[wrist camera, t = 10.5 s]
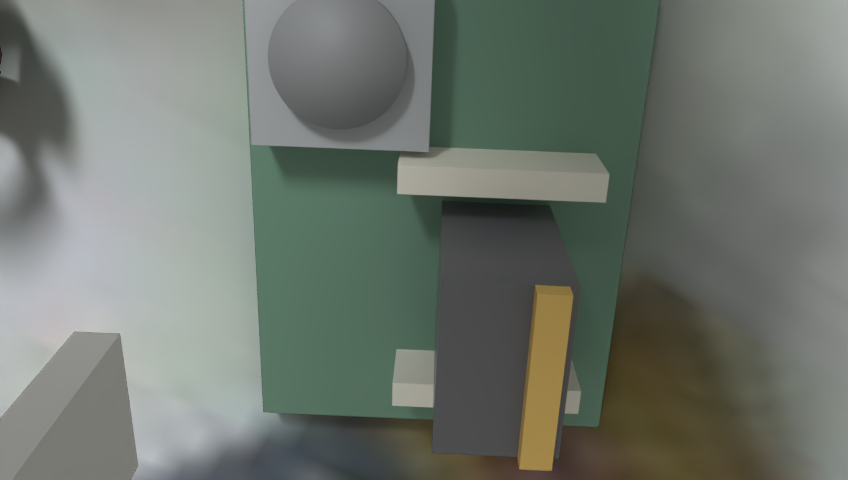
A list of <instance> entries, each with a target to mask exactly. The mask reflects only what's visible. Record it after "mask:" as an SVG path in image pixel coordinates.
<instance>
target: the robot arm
mask: <svg viewBox="0 0 848 480" xmlns="http://www.w3.org/2000/svg"><path fill="white" fill-rule="evenodd" d="M137 467H138V461H137V453H136V446H135V439H134V432H133V424H132V417H131V410H130V402H129V395H128V388H127V380H126V373H125V366H124V358H123V351H122V344H121V337H120V334H119V333H95V332H73V334H72V335H71V336H70V337H69V338H68V339H67V341H66V342H65V343H64V344H63V345H62V347H61V348H60V349H59V350H58V351H57V352H56V354H55V355H54V356H53V357H52V358H51V359H50V361H49V362H48V363H47V364H46V365H45V367H44V368H43V369H42V370H41V371H40V372H39V374H38V375H37V376H36V377H35V378H34V379H33V381H32V382H31V383H30V384H29V385H28V386H27V388H26V389H25V390H24V391H23V392H22V394H21V395H20V396H19V397H18V398H17V399H16V401H15V402H14V403H13V404H12V405H11V406H10V408H9V409H8V410H7V411H6V412H5V413H4V415H3V416H2V417H1V418H0V480H131V478H132V476H133V475H134V473H135V471H136V469H137Z"/></svg>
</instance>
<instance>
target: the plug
mask: <svg viewBox="0 0 848 480" xmlns="http://www.w3.org/2000/svg"><path fill="white" fill-rule="evenodd" d="M580 289H581V287H580V284H579V281H578V279H577V276H576V273H575V271H574V268H573V265H572V263H571V260H570V258H569V255H568V252H567V250H566V247H565V244H564V242H563V239H562V236H561V234H560V231H559V229H558V226H557V223H556V221H555V218H554V215H553V213H552V210H551V207H550V206H545V205H523V204H501V203H479V202H457V201H442V208H441V228H440V248H439V267H438V287H437V307H436V326H435V350H434V392H433V434H432V453H444V454H465V455H486V456H506V457H518V464H519V469H522V470H543V471H552V464H553V459H559V453H560V445H561V438H562V430H563V422H564V414H565V406H566V398H567V391H568V383H569V375H570V367H571V359H572V351H573V344H574V336H575V328H576V320H577V312H578V304H579V297H580Z"/></svg>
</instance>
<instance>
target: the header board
mask: <svg viewBox="0 0 848 480" xmlns="http://www.w3.org/2000/svg"><path fill="white" fill-rule="evenodd" d="M659 2H660V0H243V16H244V36H245V56H246V76H247V96H248V116H249V136H250V156H251V176H252V196H253V216H254V235H255V255H256V275H257V295H258V315H259V335H260V355H261V375H262V395H263V412H270V413H292V414H315V415H337V416H360V417H383V418H405V419H428V420H433V392H434V350H435V326H436V307H437V287H438V267H439V248H440V228H441V208H442V201H457V202H479V203H501V204H523V205H545V206H550V207H551V210H552V213H553V215H554V218H555V221H556V223H557V226H558V229H559V231H560V234H561V236H562V239H563V242H564V244H565V247H566V250H567V252H568V255H569V258H570V260H571V263H572V265H573V268H574V271H575V273H576V276H577V279H578V281H579V284H580V287H581V289H580V297H579V304H578V312H577V320H576V328H575V336H574V344H573V351H572V359H571V367H570V375H569V383H568V391H567V398H566V406H565V414H564V422H563V426H585V427H599V420H600V413H601V406H602V399H603V393H604V386H605V379H606V372H607V365H608V358H609V351H610V344H611V337H612V330H613V323H614V316H615V309H616V302H617V295H618V288H619V281H620V274H621V267H622V260H623V253H624V246H625V239H626V232H627V225H628V218H629V211H630V204H631V197H632V191H633V184H634V177H635V170H636V163H637V156H638V149H639V142H640V135H641V128H642V121H643V114H644V107H645V100H646V93H647V86H648V79H649V72H650V65H651V58H652V51H653V44H654V37H655V30H656V23H657V16H658V9H659Z"/></svg>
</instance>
